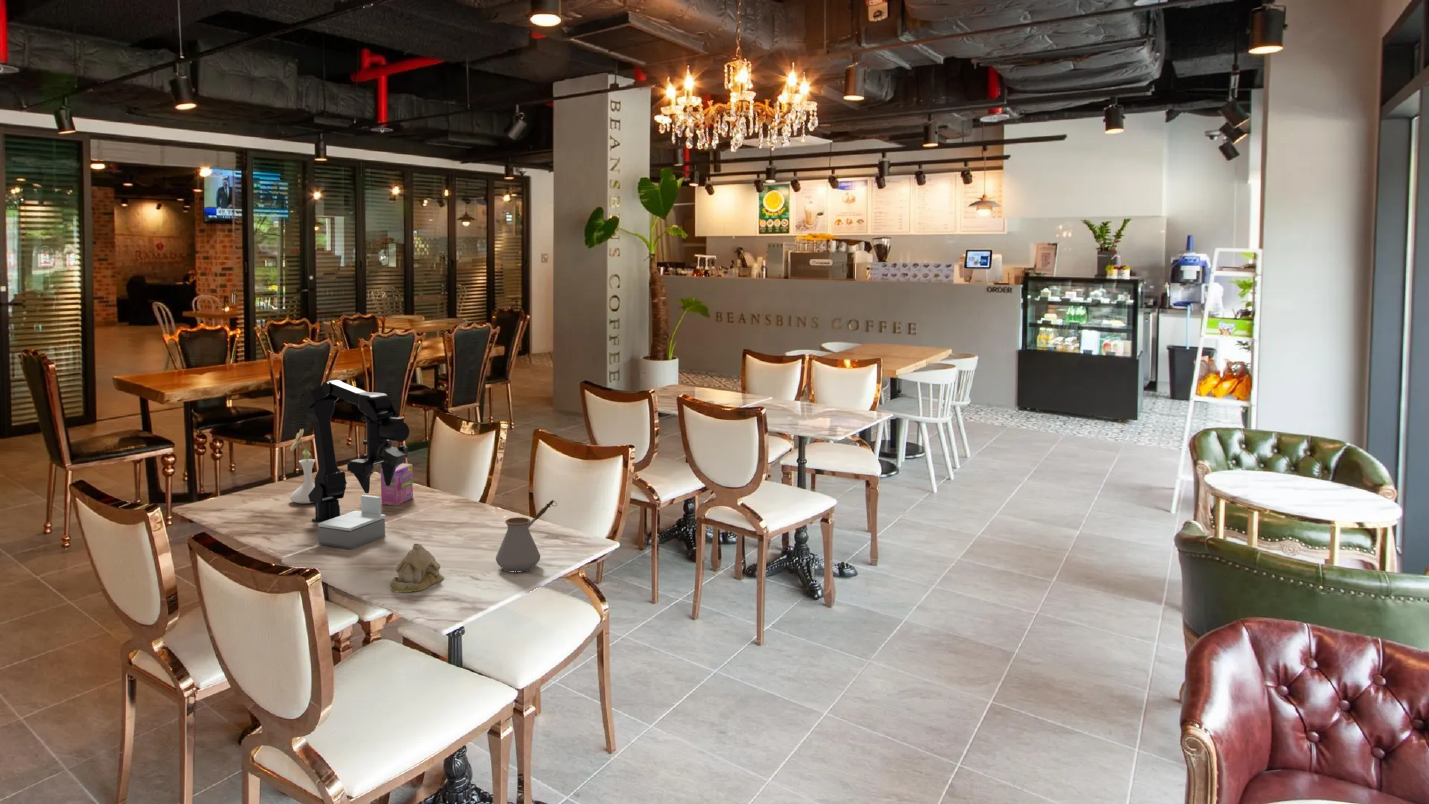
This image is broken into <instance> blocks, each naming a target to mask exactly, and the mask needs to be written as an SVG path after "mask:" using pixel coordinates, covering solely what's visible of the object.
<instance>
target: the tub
mask: <svg viewBox="0 0 1429 804" xmlns="http://www.w3.org/2000/svg"><path fill="white" fill-rule="evenodd" d="M317 531H318V532H317V535H318V546H324V545H326V546H325V547H331V548H339V549H343V548H345V549H344V550H353V549H356V548H358V547H360V545H361V546H363V545H365V544H369V543H370V542H373V541H375V539H376V540H378V539H380V538H383V537H385V536H386V520H385V518H383V519H381V520H378V521H375V522H373V523H370V524H367V525H365V526H362V527H359V528H357V529H354V530H351V531H346V530H339V529H332V528H326V527H319V526H317Z"/></svg>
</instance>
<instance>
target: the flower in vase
mask: <svg viewBox="0 0 1429 804" xmlns="http://www.w3.org/2000/svg"><path fill="white" fill-rule="evenodd" d="M304 431H305V430H304V428H302V429H301V428H300V429H299V432H297V433H296V435H295V439H293V440H292V444H291V446H290V447H289V449H290V452H291V451H292V452H293V451H294V450H295V449H296V448H297V446H298V445H299V443H300V444H301V445H302V446H303V448H304V449H303V451H302V455H303V458H302V459H300V460H298V463H299V464H300V465H301V467H302V470H303V479H304V480H303V483H302V484H301V485H300V486H299V487H298V488H296V489H295V490H294V491H293V492H292V493H291V494H290V496H289V500H290V501H291V502H294V503H296V504H313V502H310V500H309V497H308V495H309V494H310V492H311V491H312V490H313V488H314V487H315V482H314V481H313V478H312V477H313V476H312V475H313V466H314V464H315V462H316V459H314V458H309V457H310V456H311V453H310V451H309V450H308V449H307V448H306V446H305V445H304V443H303V441H302V438H303V435H304Z"/></svg>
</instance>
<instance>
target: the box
mask: <svg viewBox="0 0 1429 804" xmlns="http://www.w3.org/2000/svg"><path fill="white" fill-rule="evenodd" d="M413 481H414V479H413V463H412V464H411V463H404V462H403V464H400V465H399V466H398V467H397V468H396V470H395V472H394V475H393V478H392V481H391V484H390V486H386V483H385V480H384V475H383V471H382V469H380V497H381V505H383V504H390V505H389V506H393V505H397V506H399V505H400V504H403V503H404V501H405V502H407V501H408V500H410V499H413V498H414V487H413V484H414V483H413ZM398 504H399V505H398Z"/></svg>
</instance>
